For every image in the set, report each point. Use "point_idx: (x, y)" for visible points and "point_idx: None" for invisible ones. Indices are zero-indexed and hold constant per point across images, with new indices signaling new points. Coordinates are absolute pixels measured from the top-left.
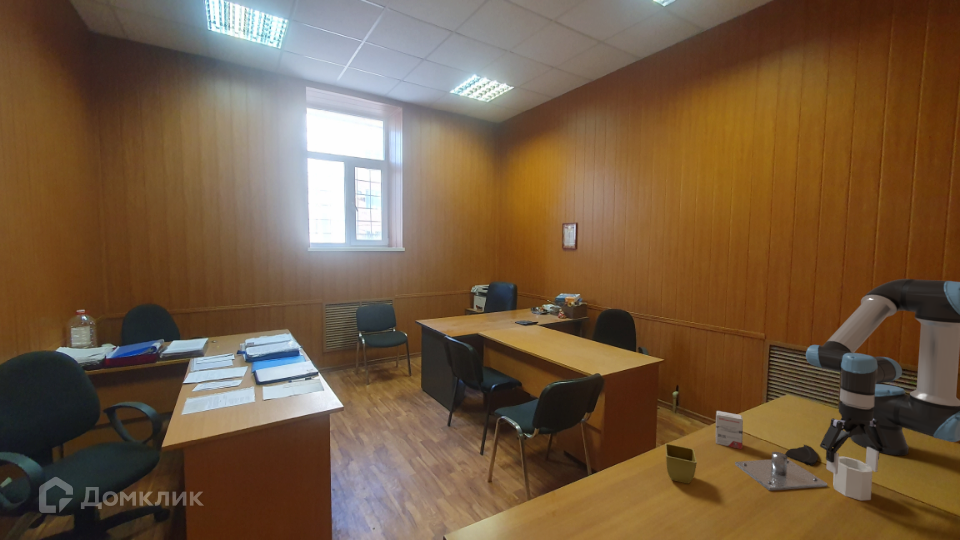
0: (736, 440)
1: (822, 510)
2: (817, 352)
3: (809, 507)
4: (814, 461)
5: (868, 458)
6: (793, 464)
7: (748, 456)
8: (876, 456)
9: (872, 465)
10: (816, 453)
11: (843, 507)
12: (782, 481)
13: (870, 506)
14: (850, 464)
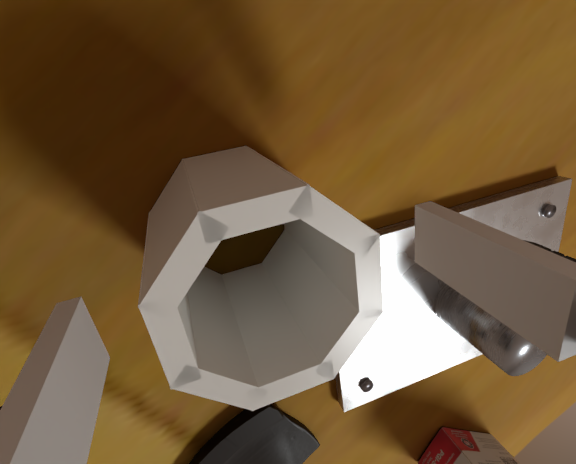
0: (477, 456)
1: (485, 52)
2: None
3: (515, 72)
4: (241, 426)
5: (85, 414)
6: (355, 372)
7: (452, 388)
8: (25, 421)
9: (81, 345)
10: None
11: (378, 79)
12: None
13: (232, 96)
14: (226, 348)
